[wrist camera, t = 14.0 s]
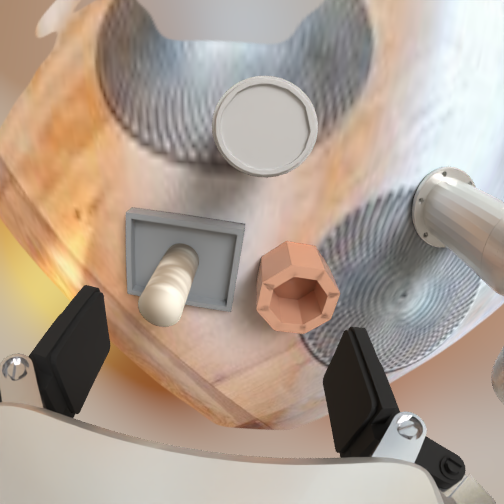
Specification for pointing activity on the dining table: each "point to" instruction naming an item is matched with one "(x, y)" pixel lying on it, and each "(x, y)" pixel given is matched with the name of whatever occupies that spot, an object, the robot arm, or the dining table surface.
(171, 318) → the peg
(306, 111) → the disposable coffee cup
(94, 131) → the dining table surface
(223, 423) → the dining table surface
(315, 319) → the terracotta octagonal pot
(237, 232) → the tray
